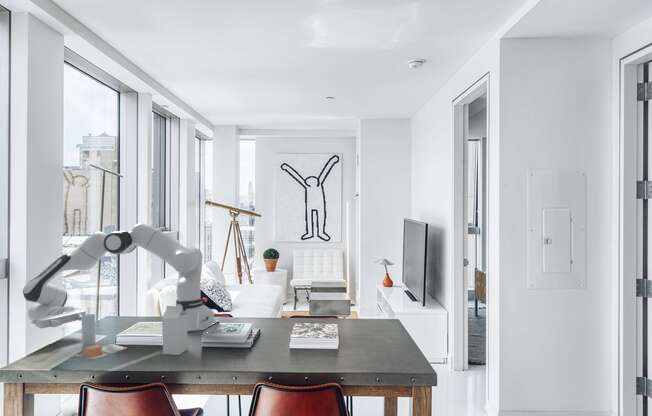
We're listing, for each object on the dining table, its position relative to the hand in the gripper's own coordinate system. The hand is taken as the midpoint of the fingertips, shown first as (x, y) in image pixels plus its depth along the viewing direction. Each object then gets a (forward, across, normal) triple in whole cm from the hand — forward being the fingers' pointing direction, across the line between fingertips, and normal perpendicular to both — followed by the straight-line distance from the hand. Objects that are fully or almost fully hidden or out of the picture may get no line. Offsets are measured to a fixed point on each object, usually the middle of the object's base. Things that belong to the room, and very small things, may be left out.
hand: (71, 320), depth 198 cm
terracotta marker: (+24, -6, +9) cm, 27 cm away
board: (+24, -2, +10) cm, 26 cm away
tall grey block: (+12, 0, +10) cm, 16 cm away
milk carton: (+50, +14, +10) cm, 52 cm away
